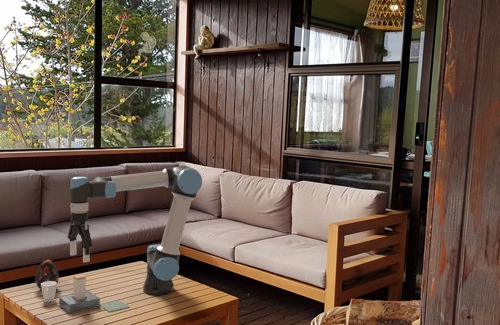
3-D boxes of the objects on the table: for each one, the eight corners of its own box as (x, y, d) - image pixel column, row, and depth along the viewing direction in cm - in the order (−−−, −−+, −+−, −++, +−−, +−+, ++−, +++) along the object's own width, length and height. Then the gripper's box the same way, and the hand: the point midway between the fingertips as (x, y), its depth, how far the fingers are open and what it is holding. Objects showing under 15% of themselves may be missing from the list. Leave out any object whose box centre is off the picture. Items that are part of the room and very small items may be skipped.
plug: (81, 303, 237) (82, 274, 236) (85, 306, 234) (85, 276, 233) (73, 305, 235) (73, 275, 234) (76, 308, 232) (77, 278, 231)
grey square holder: (88, 299, 244) (88, 290, 243) (99, 306, 235) (99, 298, 234) (59, 305, 235) (59, 296, 234) (69, 313, 226) (69, 304, 225)
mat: (119, 300, 243) (119, 300, 243) (129, 307, 235) (129, 306, 235) (99, 305, 236) (99, 304, 236) (109, 312, 229) (109, 311, 229)
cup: (57, 297, 245) (57, 280, 244) (55, 304, 235) (55, 287, 235) (42, 297, 243) (42, 281, 243) (38, 305, 234) (38, 288, 233)
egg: (48, 284, 262) (48, 255, 260) (63, 288, 257) (63, 259, 255) (30, 290, 252) (30, 260, 251) (45, 294, 247) (45, 264, 246)
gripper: (59, 208, 236) (60, 253, 238) (83, 217, 218) (83, 266, 220) (75, 206, 241) (76, 251, 243) (100, 215, 223) (100, 263, 225)
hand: (79, 258), depth 231 cm, fingers open, 13 cm apart
